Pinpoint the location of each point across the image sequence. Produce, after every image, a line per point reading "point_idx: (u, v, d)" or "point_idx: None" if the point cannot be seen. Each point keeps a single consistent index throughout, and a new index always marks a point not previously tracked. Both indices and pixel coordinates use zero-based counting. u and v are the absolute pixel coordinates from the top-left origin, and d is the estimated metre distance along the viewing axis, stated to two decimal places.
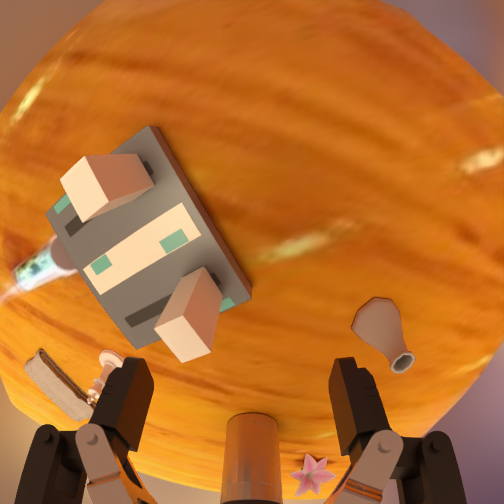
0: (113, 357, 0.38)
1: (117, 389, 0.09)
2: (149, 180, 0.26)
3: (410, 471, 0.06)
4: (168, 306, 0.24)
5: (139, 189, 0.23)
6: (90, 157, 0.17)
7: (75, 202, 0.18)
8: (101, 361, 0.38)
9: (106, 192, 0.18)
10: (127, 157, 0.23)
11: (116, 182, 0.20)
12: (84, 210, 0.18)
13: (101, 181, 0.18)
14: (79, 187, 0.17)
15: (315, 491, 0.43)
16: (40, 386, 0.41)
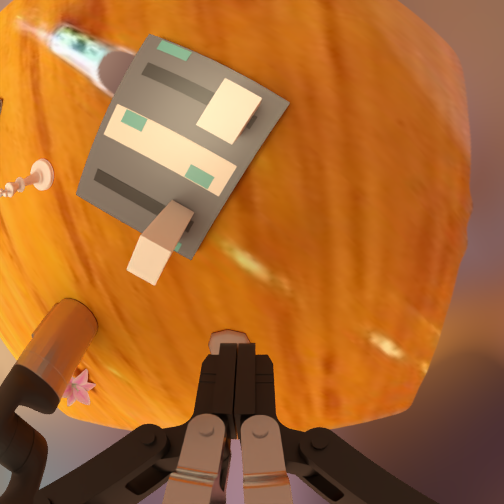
0: (48, 174, 0.31)
1: (222, 375, 0.10)
2: (242, 131, 0.27)
3: (296, 467, 0.07)
4: (157, 222, 0.25)
5: (237, 137, 0.24)
6: None
7: (211, 107, 0.17)
8: (35, 165, 0.30)
9: (237, 136, 0.19)
10: (257, 107, 0.24)
11: (243, 128, 0.21)
12: (209, 121, 0.18)
13: (244, 125, 0.19)
14: (229, 106, 0.17)
15: (68, 402, 0.48)
16: None
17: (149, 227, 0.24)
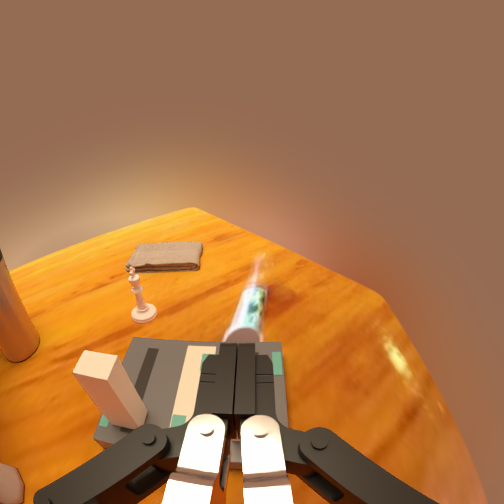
0: (145, 317, 0.46)
1: (222, 375, 0.10)
2: (237, 439, 0.24)
3: (296, 466, 0.07)
4: (127, 380, 0.23)
5: None
6: None
7: None
8: (151, 305, 0.48)
9: None
10: None
11: None
12: None
13: None
14: None
15: None
16: (179, 243, 0.68)
17: (123, 369, 0.23)
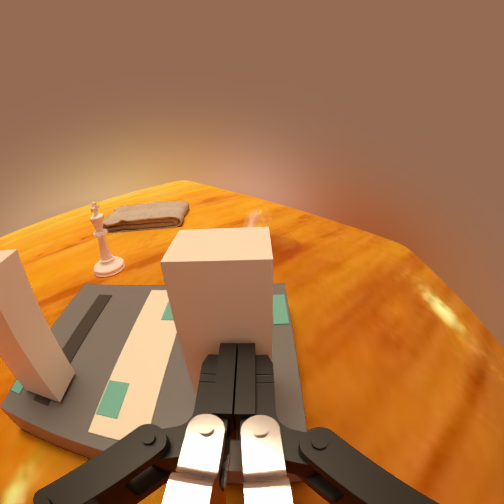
0: (109, 269, 0.35)
1: (221, 375, 0.10)
2: None
3: (296, 466, 0.07)
4: (32, 303, 0.13)
5: (190, 370, 0.12)
6: (267, 277, 0.10)
7: (213, 231, 0.12)
8: (118, 257, 0.38)
9: (180, 271, 0.10)
10: None
11: (204, 318, 0.11)
12: (190, 236, 0.12)
13: (206, 272, 0.10)
14: (228, 240, 0.11)
15: None
16: (162, 202, 0.58)
17: (25, 279, 0.12)
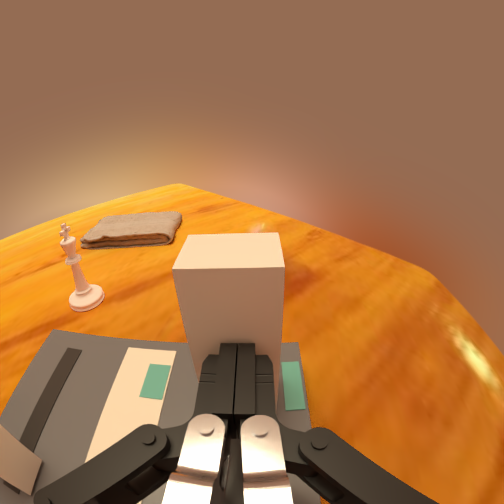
0: (85, 302, 0.28)
1: (222, 375, 0.10)
2: None
3: (296, 467, 0.07)
4: None
5: (198, 374, 0.13)
6: (279, 284, 0.10)
7: (223, 236, 0.12)
8: (97, 287, 0.31)
9: (192, 278, 0.10)
10: None
11: (214, 324, 0.11)
12: (199, 241, 0.12)
13: (218, 280, 0.10)
14: (239, 247, 0.11)
15: None
16: (151, 213, 0.50)
17: None
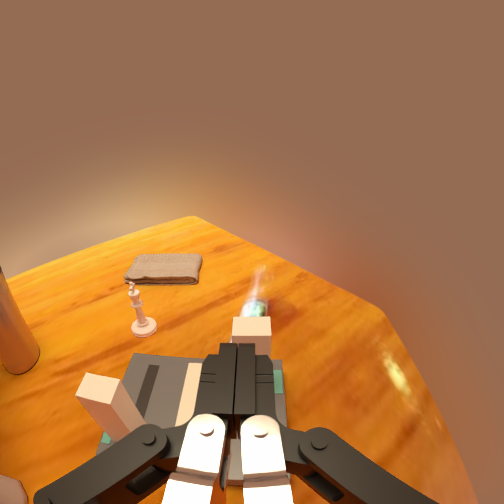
0: (145, 331, 0.45)
1: (222, 375, 0.10)
2: None
3: (296, 466, 0.07)
4: (129, 402, 0.23)
5: None
6: (269, 340, 0.28)
7: (248, 318, 0.30)
8: (151, 319, 0.48)
9: (238, 338, 0.28)
10: None
11: None
12: (239, 321, 0.30)
13: (248, 339, 0.28)
14: (254, 325, 0.29)
15: None
16: (178, 255, 0.67)
17: (125, 391, 0.22)
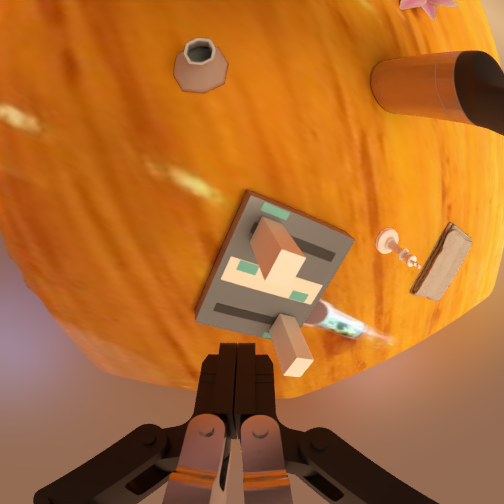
0: (380, 244, 0.46)
1: (222, 375, 0.10)
2: (278, 318, 0.45)
3: (296, 466, 0.07)
4: None
5: (285, 329, 0.42)
6: (282, 370, 0.38)
7: (306, 366, 0.38)
8: (390, 250, 0.47)
9: (293, 358, 0.37)
10: (273, 340, 0.44)
11: (287, 350, 0.39)
12: (307, 362, 0.37)
13: (290, 362, 0.37)
14: (298, 369, 0.38)
15: None
16: (448, 282, 0.53)
17: None
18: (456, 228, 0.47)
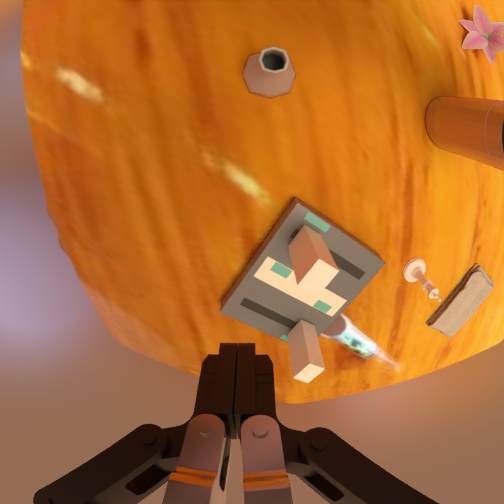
0: (407, 271, 0.45)
1: (221, 375, 0.10)
2: (299, 324, 0.46)
3: (296, 467, 0.07)
4: None
5: (304, 335, 0.43)
6: (293, 373, 0.40)
7: (316, 374, 0.39)
8: (416, 280, 0.46)
9: (306, 364, 0.38)
10: (290, 343, 0.45)
11: (302, 355, 0.40)
12: (318, 370, 0.38)
13: (302, 367, 0.39)
14: (308, 375, 0.39)
15: (503, 27, 0.17)
16: (463, 321, 0.50)
17: None
18: (481, 270, 0.44)
